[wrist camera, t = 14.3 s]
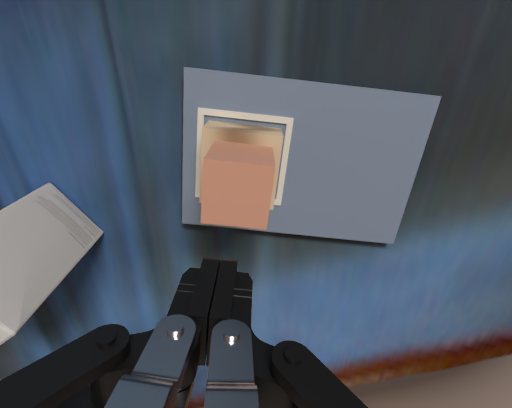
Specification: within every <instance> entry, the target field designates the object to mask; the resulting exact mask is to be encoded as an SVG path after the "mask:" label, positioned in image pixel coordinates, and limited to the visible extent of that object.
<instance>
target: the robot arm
mask: <svg viewBox="0 0 512 408" xmlns="http://www.w3.org/2000/svg"><path fill="white" fill-rule="evenodd" d="M252 283H253V281H252V279H251V277H250V276H249V274H248V273H242V272H237V261H236V260H226V259H221V263H220V259H215V258H205V257H204V258H203V261H202V265H201V268H200V269H199V268H189V269H188V270H187V271H186V272H185V273H184V274H183V275H182V278H181V280H180V284H179V286H178V288H177V291H176V294H175V296H174V299H173V301H172V304H171V307H170V309H169V312H168V314H167V317H165V318H163V319H162V320H161V321H159V322H158V324H157V325H156V327H155V329H153V330H150V331H147V332H143V333H137V334H131V335H129V332H128V330H127V329H126V328H125V327H123V326H121V325H117V324H109V325H104V326H101V327H98V328H96V329H94V330H93V331H91V332H89V333H87V334H85V335H83V336H82V337H80V338H78V339H76V340H74V341H72V342H70V343H69V344H67V345H65V346H63V347H61V348H59V349H58V350H56V351H54V352H52V353H50V354H48V355H47V356H45V357H43V358H41V359H39V360H37V361H36V362H34V363H32V364H30V365H28V366H26V367H24V368H23V369H21V370H19V371H17V372H15V373H13V374H12V375H10V376H8V377H6V378H4V379H2V380H1V381H0V408H187V406H188V403H189V399H190V396H191V393H192V389H193V386H194V379H195V376H196V372H197V367H198V365H205V360H206V355H207V363H206V366H208V377H207V385H206V394H205V405H204V408H368V407H367V406H366V405H365V404H363V402H362V401H360V399H358V398H357V397H356V396H355V395H354V394H353V393H352V392H351V391H350V390H349V389H348V388H347V387H346V386H345V385H344V384H343V383H342V382H341V381H340V380H339V379H338V378H337V377H336V376H335V375H334V374H333V373H332V372H331V371H330V370H329V369H328V368H327V367H326V366H325V365H324V364H323V363H322V362H321V361H320V360H319V359H318V358H317V357H316V356H315V355H314V354H313V353H312V352H311V351H309V350H308V349H307V348H306V347H305V346H304V345H302V344H300V343H298V342H295V341H283V342H280V343H278V344H277V345H276V346H272V345H269V344H267V343H265V342H263V341H261V340H260V339H258V338H257V337H256V336H255V335H254V333H253V331H252V329H251V308H252Z"/></svg>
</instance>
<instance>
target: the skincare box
mask: <svg viewBox="0 0 512 408" xmlns="http://www.w3.org/2000/svg"><path fill="white" fill-rule="evenodd" d="M103 233H104V232H103V231H102V230H101V229H100V228H99V227H98V226H97V225H95V224H94V223H93V222H92V221H91V220H90V219H89V218H88V217H87V216H86V215H85V214H84V213H83V212H81V211H80V210H79V209H78V208H77V207H76V206H75V205H74V204H73V203H72V202H71V201H70V200H69V199H68V198H66V197H65V196H64V195H63V194H62V193H61V192H60V191H59V190H58V189H57V188H56V187H55V186H53V185H52V184H51V183H47V184H45V185H43V186H42V187H40V188H38V189H36V190H35V191H33V192H31V193H30V194H28V195H26V196H25V197H23V198H21V199H19V200H18V201H16V202H14V203H12V204H11V205H9V206H7V207H5V208H4V209H2V210H0V345H1V344H2V343H4V342H5V341H7V340H8V339H10V338H11V337H12V336H14V335H15V334H16V333H17V332H18V331H19V330H20V328H21V327H22V326H23V325H24V324H25V323H26V321H27V320H28V319H29V318H30V317H31V316H32V314H33V313H34V312H35V311H36V310H37V309H38V308H39V307H40V305H41V304H42V303H43V302H44V301H45V300H46V298H47V297H48V296H49V295H50V294H51V293H52V292H53V290H54V289H55V288H56V287H57V286H58V285H59V284H60V283H61V281H62V280H63V279H64V278H65V277H66V276H67V275H68V273H69V272H70V271H71V270H72V269H73V268H74V266H75V265H76V264H77V263H78V262H79V261H80V260H81V259H82V257H83V256H84V255H85V254H86V253H87V252H88V251H89V250H90V248H91V247H92V246H93V245H94V244H95V243H96V241H97V240H98V239H99V238H100V237H101V236H102V234H103Z"/></svg>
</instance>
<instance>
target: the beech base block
mask: <svg viewBox="0 0 512 408" xmlns="http://www.w3.org/2000/svg"><path fill="white" fill-rule="evenodd" d="M283 137H284V136H283V133H282V130H281V128H274V127H265V126H256V125H247V124H237V123H228V122H219V121H210V120H209V121H208V122H207V123H206V124H205V125H204V126H203V127H202V142H201V170H200V197H199V203H201V201H202V178H203V158H204V157H205V155H206V154H207V152H208V150H209V149H210V147H211V146H212V144H213V143H214V141H215V140H216V141H225V142H234V143H243V144H252V145H261V146H270V147H272V148H273V154H274V160H275V166H276V167H275V174H274V181H273V188H272V195H271V203H270V210H273V208H274V201H275V194H276V187H277V180H278V173H279V165H280V158H281V151H282V144H283Z"/></svg>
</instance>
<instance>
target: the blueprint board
mask: <svg viewBox="0 0 512 408" xmlns="http://www.w3.org/2000/svg"><path fill="white" fill-rule="evenodd" d="M440 99H441V96H435V95H426V94H417V93H408V92H400V91H391V90H382V89H374V88H365V87H356V86H347V85H339V84H330V83H321V82H313V81H304V80H295V79H286V78H278V77H269V76H260V75H251V74H243V73H234V72H225V71H217V70H208V69H199V68H190V67H184V102H183V184H182V223H185V224H195V225H205V226H215V227H225V228H235V229H246V230H256V231H266V232H276V233H286V234H296V235H306V236H317V237H327V238H337V239H347V240H357V241H367V242H378V243H388V244H394V241H395V237H396V234H397V231H398V228H399V225H400V222H401V219H402V216H403V213H404V210H405V207H406V204H407V201H408V198H409V194H410V191H411V188H412V185H413V182H414V179H415V176H416V173H417V170H418V167H419V164H420V161H421V158H422V155H423V151H424V148H425V145H426V142H427V139H428V136H429V133H430V130H431V127H432V124H433V121H434V118H435V115H436V111H437V108H438V105H439V102H440ZM209 120H210V121H219V122H228V123H237V124H247V125H256V126H265V127H274V128H281V130H282V133H283V136H284V137H283V144H282V151H281V158H280V165H279V173H278V180H277V187H276V194H275V201H274V208H273V210H269V217H268V224H267V230H262V229H252V228H243V227H233V226H223V225H213V224H204V223H201V203H199V197H200V170H201V142H202V127H203V126H204V125H205V124H206V123H207V122H208V121H209Z"/></svg>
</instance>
